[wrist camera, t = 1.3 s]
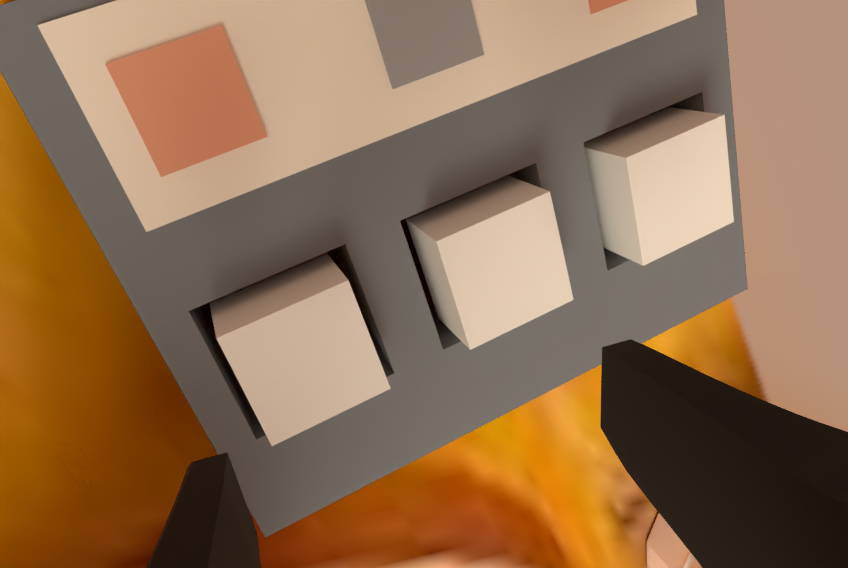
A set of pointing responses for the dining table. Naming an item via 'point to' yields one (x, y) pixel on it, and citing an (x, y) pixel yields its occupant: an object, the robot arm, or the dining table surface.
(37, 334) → the dining table surface
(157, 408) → the dining table surface
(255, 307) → the button
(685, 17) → the button board
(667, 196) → the button
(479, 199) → the middle button
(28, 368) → the dining table surface
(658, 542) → the white cup
